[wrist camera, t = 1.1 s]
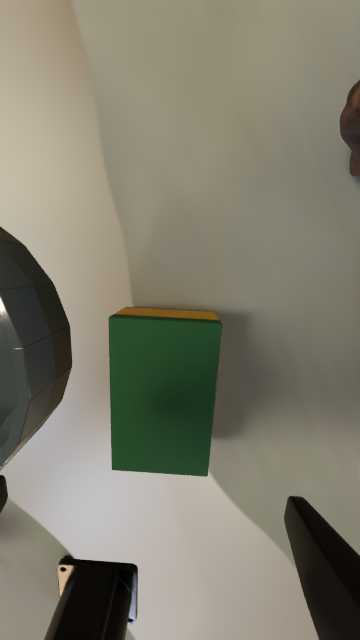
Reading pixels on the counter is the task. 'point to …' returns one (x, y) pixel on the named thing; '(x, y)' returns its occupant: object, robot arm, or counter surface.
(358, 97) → the pottery mug
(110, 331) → the sponge
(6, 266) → the bowl
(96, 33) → the counter surface
